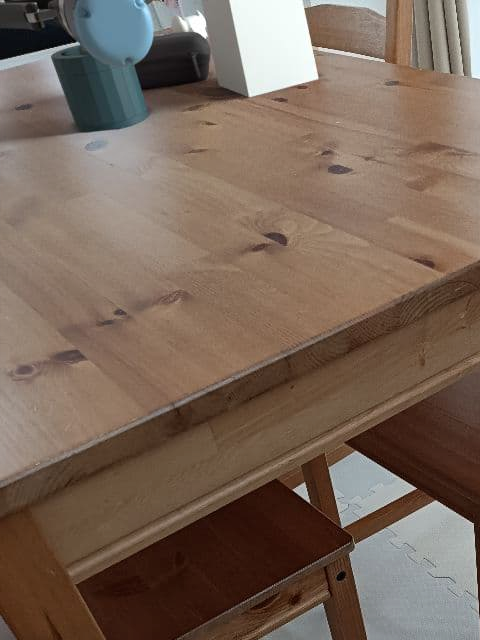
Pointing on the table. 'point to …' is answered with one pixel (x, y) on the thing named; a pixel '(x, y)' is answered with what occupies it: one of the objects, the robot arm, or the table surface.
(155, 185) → the table surface
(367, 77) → the table surface
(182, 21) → the elephant figurine
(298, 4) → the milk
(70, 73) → the jar
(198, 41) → the glasses case
